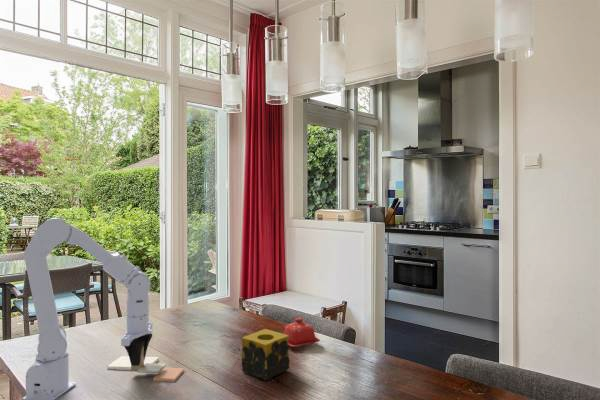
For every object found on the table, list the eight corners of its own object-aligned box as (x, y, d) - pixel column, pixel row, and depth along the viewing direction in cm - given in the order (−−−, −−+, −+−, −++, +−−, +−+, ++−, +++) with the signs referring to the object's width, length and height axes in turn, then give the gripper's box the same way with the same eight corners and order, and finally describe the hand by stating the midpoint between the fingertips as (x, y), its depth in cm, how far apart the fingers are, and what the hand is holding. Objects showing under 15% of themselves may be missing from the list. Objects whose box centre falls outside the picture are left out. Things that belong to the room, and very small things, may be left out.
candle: (265, 360, 126) (265, 328, 126) (290, 369, 120) (290, 334, 120) (240, 371, 118) (240, 336, 118) (266, 381, 112) (265, 344, 112)
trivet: (147, 370, 119) (147, 367, 119) (107, 369, 120) (107, 366, 120) (158, 360, 127) (158, 357, 127) (121, 359, 128) (121, 356, 128)
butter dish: (277, 340, 145) (277, 316, 145) (306, 335, 151) (305, 311, 151) (291, 350, 135) (291, 324, 135) (321, 344, 140) (321, 319, 140)
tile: (153, 383, 112) (174, 383, 111) (153, 378, 112) (174, 378, 111) (163, 372, 119) (184, 373, 118) (163, 367, 119) (184, 368, 118)
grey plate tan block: (158, 373, 113) (158, 351, 113) (128, 372, 113) (128, 350, 113) (166, 365, 118) (166, 344, 118) (137, 365, 118) (137, 344, 118)
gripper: (139, 322, 108) (139, 374, 108) (162, 308, 123) (162, 353, 123) (113, 321, 109) (113, 373, 109) (139, 307, 123) (139, 353, 123)
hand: (137, 363), depth 116 cm, fingers closed on grey plate tan block, 2 cm apart
